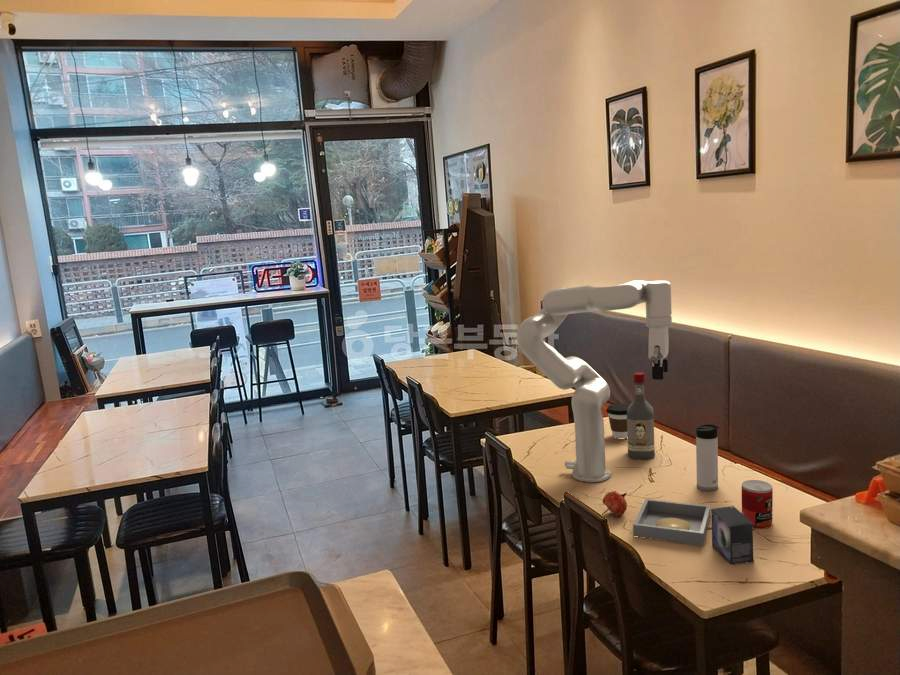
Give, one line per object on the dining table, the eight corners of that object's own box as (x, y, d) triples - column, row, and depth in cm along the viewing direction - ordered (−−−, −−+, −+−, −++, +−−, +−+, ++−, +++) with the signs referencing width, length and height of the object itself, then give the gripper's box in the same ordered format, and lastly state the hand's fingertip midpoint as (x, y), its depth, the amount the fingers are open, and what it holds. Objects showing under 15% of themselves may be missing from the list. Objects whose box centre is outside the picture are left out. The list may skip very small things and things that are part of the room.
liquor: (628, 450, 256) (626, 370, 251) (654, 450, 253) (652, 370, 248) (628, 458, 247) (625, 376, 242) (654, 459, 245) (652, 376, 240)
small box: (709, 545, 182) (709, 507, 180) (733, 542, 182) (733, 505, 180) (729, 565, 171) (728, 525, 170) (754, 562, 172) (754, 522, 170)
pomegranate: (609, 528, 200) (636, 507, 198) (592, 509, 201) (619, 488, 199) (607, 520, 207) (634, 500, 206) (591, 501, 208) (617, 481, 206)
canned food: (759, 531, 187) (759, 493, 185) (735, 521, 194) (735, 484, 192) (779, 524, 190) (779, 486, 189) (754, 514, 197) (754, 477, 196)
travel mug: (720, 491, 215) (720, 428, 211) (698, 491, 216) (697, 429, 212) (717, 483, 221) (716, 422, 217) (695, 483, 222) (694, 422, 218)
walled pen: (633, 536, 190) (633, 524, 189) (645, 509, 205) (645, 498, 205) (703, 545, 182) (703, 533, 181) (710, 517, 198) (710, 505, 197)
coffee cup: (608, 441, 267) (606, 411, 265) (606, 432, 277) (605, 403, 275) (637, 441, 265) (636, 410, 263) (634, 432, 275) (633, 402, 273)
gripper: (650, 316, 223) (652, 368, 226) (641, 326, 208) (643, 381, 211) (675, 316, 220) (676, 369, 223) (667, 326, 205) (669, 382, 208)
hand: (660, 375), depth 217 cm, fingers open, 9 cm apart
